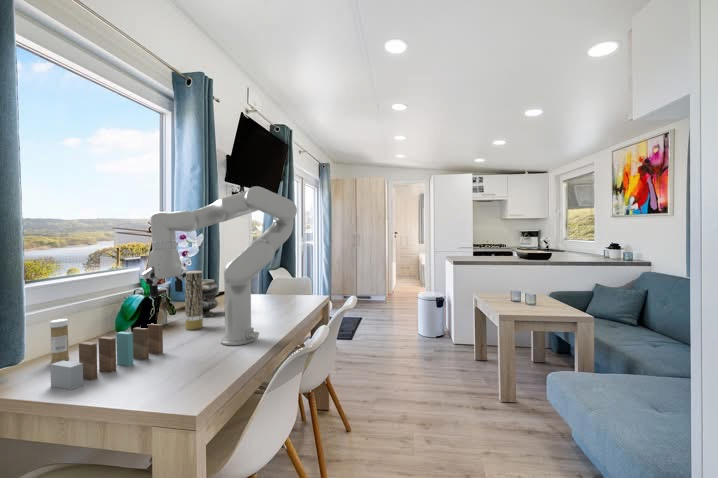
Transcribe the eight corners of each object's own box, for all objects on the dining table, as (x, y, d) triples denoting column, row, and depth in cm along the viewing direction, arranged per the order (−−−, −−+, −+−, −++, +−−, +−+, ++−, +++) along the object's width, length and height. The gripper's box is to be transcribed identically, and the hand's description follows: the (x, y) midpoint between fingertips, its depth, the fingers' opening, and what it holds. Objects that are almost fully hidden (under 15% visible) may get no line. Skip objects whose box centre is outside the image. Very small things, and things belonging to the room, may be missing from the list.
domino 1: (85, 375, 101) (84, 341, 101) (97, 377, 99) (96, 343, 99) (79, 378, 99) (78, 343, 99) (91, 380, 98) (90, 344, 98)
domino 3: (121, 362, 111) (121, 331, 111) (133, 364, 110) (132, 332, 110) (117, 364, 110) (116, 333, 110) (128, 366, 108) (127, 334, 108)
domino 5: (152, 351, 122) (151, 323, 122) (163, 352, 120) (162, 324, 120) (148, 353, 120) (147, 324, 120) (159, 354, 119) (158, 325, 119)
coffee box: (156, 323, 162) (155, 289, 162) (167, 323, 161) (167, 289, 161) (139, 328, 153) (139, 292, 153) (152, 329, 152) (151, 292, 152)
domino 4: (137, 356, 117) (137, 327, 116) (148, 358, 115) (148, 328, 115) (133, 358, 115) (132, 328, 115) (144, 359, 113) (143, 329, 113)
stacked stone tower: (215, 317, 173) (215, 281, 173) (189, 318, 171) (189, 282, 170) (220, 312, 185) (219, 278, 185) (195, 313, 182) (195, 279, 182)
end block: (83, 385, 94) (82, 363, 94) (71, 390, 91) (70, 367, 91) (63, 381, 97) (62, 360, 97) (50, 386, 94) (50, 364, 94)
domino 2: (104, 368, 106) (103, 336, 106) (116, 370, 104) (115, 337, 104) (99, 370, 105) (98, 337, 104) (111, 372, 103) (110, 339, 103)
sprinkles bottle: (70, 357, 117) (70, 317, 116) (66, 361, 113) (65, 320, 112) (53, 359, 115) (52, 319, 114) (48, 364, 111) (47, 322, 110)
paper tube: (197, 325, 157) (196, 270, 157) (205, 327, 153) (204, 271, 153) (182, 328, 152) (181, 271, 151) (190, 331, 148) (189, 272, 147)
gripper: (178, 245, 133) (180, 289, 134) (133, 248, 118) (136, 298, 118) (192, 245, 130) (194, 290, 131) (148, 247, 115) (151, 299, 115)
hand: (167, 294), depth 124 cm, fingers open, 9 cm apart
